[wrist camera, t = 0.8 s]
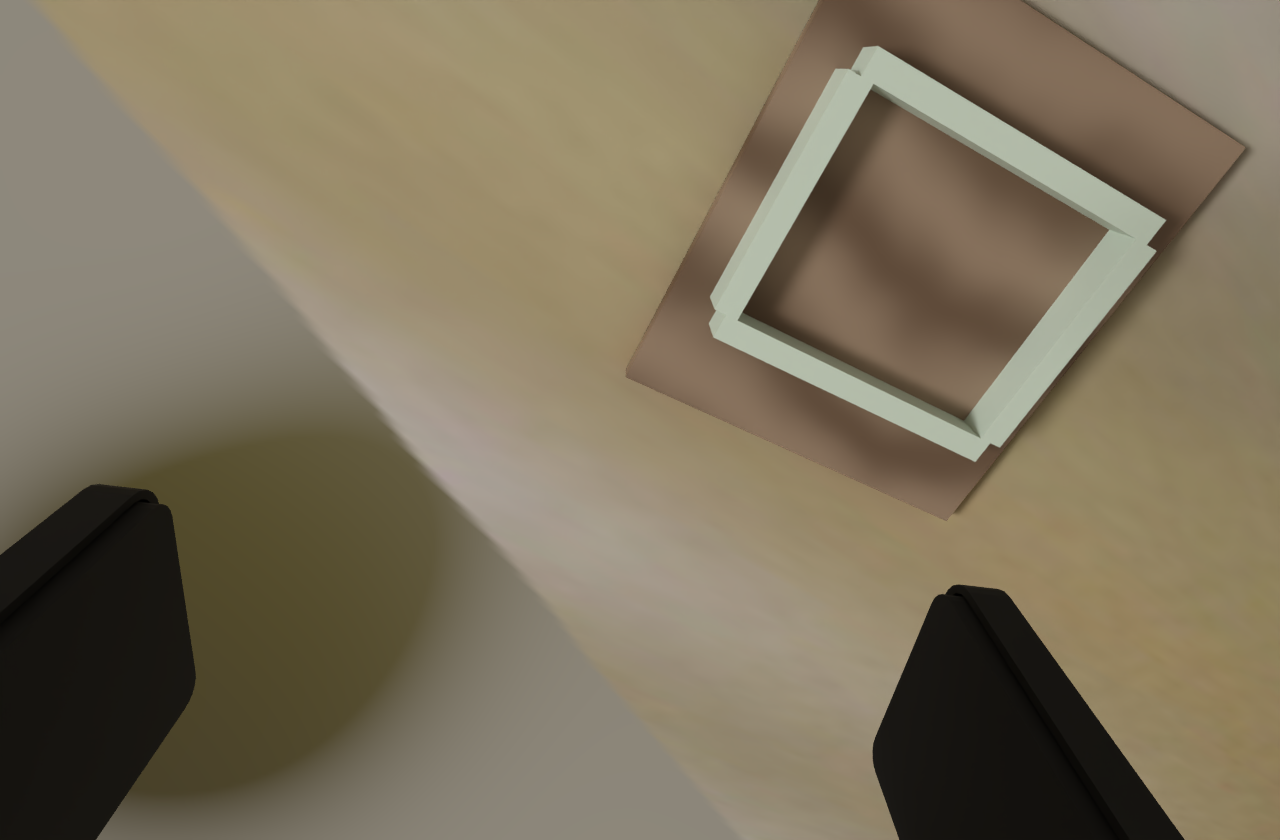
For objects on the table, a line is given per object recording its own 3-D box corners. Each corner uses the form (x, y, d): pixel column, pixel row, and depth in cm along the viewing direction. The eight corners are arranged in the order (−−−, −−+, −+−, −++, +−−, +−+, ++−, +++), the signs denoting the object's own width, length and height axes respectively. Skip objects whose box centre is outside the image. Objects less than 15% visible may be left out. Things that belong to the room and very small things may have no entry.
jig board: (866, -91, 29) (891, -107, 26) (1229, 145, 33) (1282, 152, 31) (625, 369, 38) (626, 393, 35) (939, 511, 42) (961, 542, 39)
